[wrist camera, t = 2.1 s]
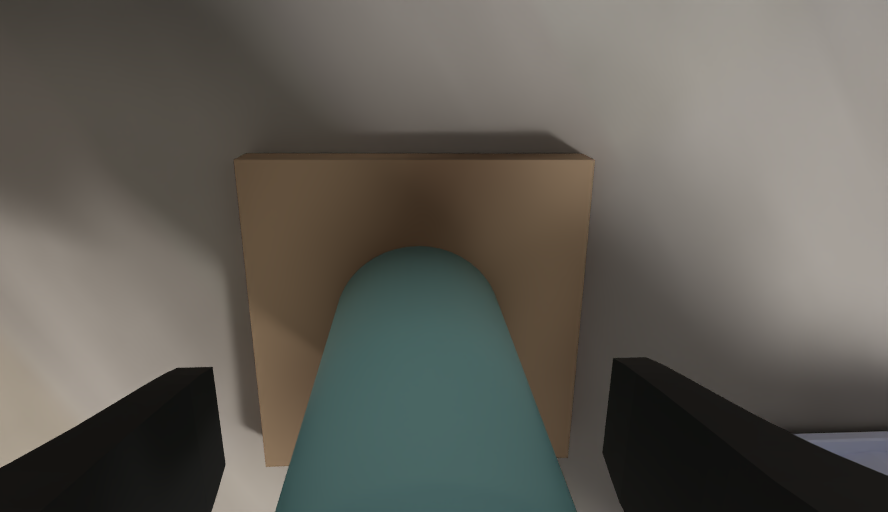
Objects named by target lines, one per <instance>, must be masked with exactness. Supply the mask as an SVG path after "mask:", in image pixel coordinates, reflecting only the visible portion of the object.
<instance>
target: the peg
mask: <svg viewBox="0 0 888 512" xmlns="http://www.w3.org/2000/svg"><path fill="white" fill-rule="evenodd" d="M275 512H577V511H576V508H575V506H574V503H573V500H572V498H571V495H570V492H569V490H568V487H567V484H566V482H565V479H564V476H563V474H562V471H561V468H560V466H559V463H558V460H557V458H556V455H555V452H554V450H553V447H552V444H551V442H550V439H549V437H548V434H547V431H546V429H545V426H544V423H543V421H542V418H541V415H540V413H539V410H538V407H537V405H536V402H535V399H534V397H533V394H532V391H531V389H530V386H529V383H528V381H527V378H526V375H525V373H524V370H523V368H522V365H521V362H520V360H519V357H518V354H517V352H516V349H515V346H514V344H513V341H512V338H511V336H510V333H509V330H508V328H507V325H506V322H505V320H504V317H503V314H502V312H501V309H500V306H499V304H498V301H497V299H496V296H495V293H494V291H493V289H492V287H491V285H490V284H489V282H488V281H487V279H486V278H485V277H484V275H483V274H482V273H481V272H480V271H479V270H478V269H477V268H476V267H475V266H473V265H472V264H471V263H470V262H468V261H467V260H465V259H464V258H462V257H460V256H458V255H456V254H454V253H452V252H449V251H446V250H443V249H439V248H434V247H426V246H412V247H404V248H398V249H394V250H391V251H388V252H385V253H383V254H381V255H379V256H377V257H375V258H373V259H372V260H370V261H369V262H367V263H366V264H365V265H363V266H362V267H361V268H360V269H359V270H358V271H357V272H356V273H355V274H354V275H353V276H352V277H351V279H350V280H349V282H348V283H347V285H346V286H345V288H344V290H343V292H342V294H341V296H340V299H339V302H338V305H337V309H336V312H335V315H334V319H333V322H332V325H331V329H330V332H329V335H328V339H327V342H326V345H325V348H324V352H323V355H322V358H321V362H320V365H319V368H318V372H317V375H316V378H315V382H314V385H313V388H312V391H311V395H310V398H309V401H308V405H307V408H306V411H305V415H304V418H303V421H302V425H301V428H300V431H299V434H298V438H297V441H296V444H295V448H294V451H293V454H292V458H291V461H290V464H289V468H288V471H287V474H286V477H285V481H284V484H283V487H282V491H281V494H280V497H279V501H278V504H277V507H276V511H275Z"/></svg>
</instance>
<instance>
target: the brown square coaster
mask: <svg viewBox="0 0 888 512" xmlns="http://www.w3.org/2000/svg"><path fill="white" fill-rule="evenodd" d="M594 164H595V160H594V159H592V158H590V157H588V156H586V155H584V154H480V153H246V154H244V155H242V156H240V157H238V158H236V159H234V169H235V178H236V187H237V197H238V206H239V216H240V225H241V235H242V244H243V254H244V263H245V273H246V282H247V292H248V301H249V311H250V320H251V330H252V339H253V349H254V358H255V367H256V377H257V386H258V396H259V405H260V415H261V424H262V434H263V443H264V453H265V462H266V467H272V466H289V464H290V461H291V458H292V454H293V451H294V448H295V444H296V441H297V438H298V434H299V431H300V428H301V425H302V421H303V418H304V415H305V411H306V408H307V405H308V401H309V398H310V395H311V391H312V388H313V385H314V382H315V378H316V375H317V372H318V368H319V365H320V362H321V358H322V355H323V352H324V348H325V345H326V342H327V339H328V335H329V332H330V329H331V325H332V322H333V319H334V315H335V312H336V309H337V305H338V302H339V299H340V296H341V294H342V292H343V290H344V288H345V286H346V285H347V283H348V282H349V280H350V279H351V277H352V276H353V275H354V274H355V273H356V272H357V271H358V270H359V269H360V268H361V267H362V266H363V265H365V264H366V263H367V262H369V261H370V260H372V259H373V258H375V257H377V256H379V255H381V254H383V253H385V252H388V251H391V250H394V249H398V248H404V247H412V246H426V247H434V248H439V249H443V250H446V251H449V252H452V253H454V254H456V255H458V256H460V257H462V258H464V259H465V260H467V261H468V262H470V263H471V264H472V265H473V266H475V267H476V268H477V269H478V270H479V271H480V272H481V273H482V274H483V275H484V277H485V278H486V279H487V281H488V282H489V284H490V285H491V287H492V289H493V291H494V293H495V296H496V299H497V301H498V304H499V306H500V309H501V312H502V314H503V317H504V320H505V322H506V325H507V328H508V330H509V333H510V336H511V338H512V341H513V344H514V346H515V349H516V352H517V354H518V357H519V360H520V362H521V365H522V368H523V370H524V373H525V375H526V378H527V381H528V383H529V386H530V389H531V391H532V394H533V397H534V399H535V402H536V405H537V407H538V410H539V413H540V415H541V418H542V421H543V423H544V426H545V429H546V431H547V434H548V437H549V439H550V442H551V444H552V447H553V450H554V452H555V455H556V458H568V450H569V439H570V428H571V417H572V406H573V395H574V384H575V373H576V362H577V351H578V340H579V329H580V318H581V307H582V296H583V285H584V274H585V263H586V252H587V241H588V230H589V219H590V208H591V197H592V186H593V175H594Z"/></svg>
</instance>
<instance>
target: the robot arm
mask: <svg viewBox="0 0 888 512" xmlns="http://www.w3.org/2000/svg"><path fill="white" fill-rule="evenodd" d="M603 455H604V458H605V461H606V464H607V468H608V471H609V474H610V477H611V480H612V482H613V485H614V488H615V491H616V493H617V496H618V499H619V502H620V504H621V506H622V508H623V510H624V512H888V431H880V432H844V433H809V434H792V433H790V432H788V431H786V430H784V429H782V428H780V427H778V426H776V425H774V424H771V423H770V422H768V421H766V420H764V419H762V418H760V417H758V416H756V415H754V414H752V413H750V412H748V411H747V410H745V409H743V408H741V407H739V406H737V405H735V404H734V403H732V402H730V401H728V400H726V399H724V398H723V397H721V396H719V395H717V394H715V393H714V392H712V391H710V390H708V389H706V388H705V387H703V386H701V385H699V384H697V383H695V382H694V381H692V380H690V379H688V378H686V377H685V376H683V375H681V374H679V373H677V372H675V371H674V370H672V369H670V368H668V367H666V366H664V365H662V364H660V363H658V362H656V361H653V360H651V359H649V358H646V357H643V358H613V365H612V374H611V383H610V391H609V400H608V409H607V417H606V426H605V435H604V444H603ZM224 468H225V457H224V450H223V442H222V435H221V427H220V420H219V412H218V405H217V397H216V390H215V382H214V375H213V367H195V368H176V369H174V370H172V371H169V372H167V373H165V374H163V375H162V376H160V377H158V378H156V379H154V380H153V381H151V382H149V383H147V384H146V385H144V386H142V387H141V388H139V389H137V390H136V391H134V392H132V393H131V394H129V395H127V396H126V397H124V398H122V399H121V400H119V401H117V402H116V403H114V404H112V405H111V406H109V407H107V408H106V409H104V410H102V411H101V412H99V413H97V414H96V415H94V416H92V417H91V418H89V419H87V420H86V421H84V422H82V423H81V424H79V425H77V426H76V427H74V428H72V429H70V430H68V431H67V432H65V433H63V434H61V435H59V436H58V437H56V438H54V439H52V440H50V441H49V442H47V443H45V444H43V445H41V446H40V447H38V448H36V449H34V450H32V451H31V452H29V453H27V454H25V455H23V456H22V457H20V458H18V459H16V460H14V461H13V462H11V463H9V464H7V465H5V466H3V467H1V468H0V512H211V511H212V508H213V505H214V502H215V499H216V495H217V492H218V489H219V485H220V482H221V478H222V475H223V472H224Z"/></svg>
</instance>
